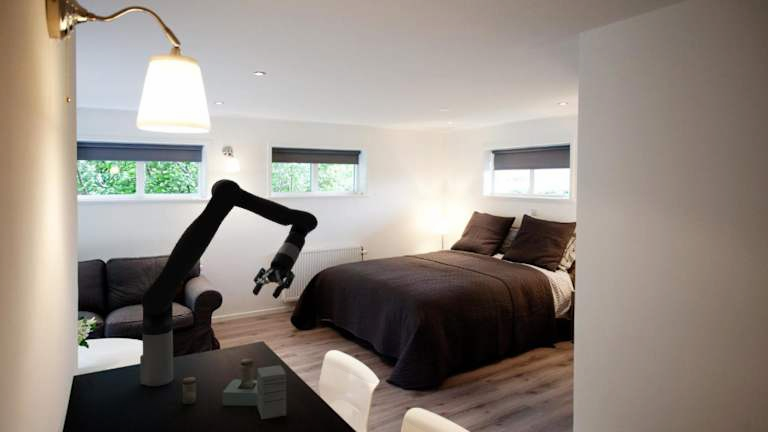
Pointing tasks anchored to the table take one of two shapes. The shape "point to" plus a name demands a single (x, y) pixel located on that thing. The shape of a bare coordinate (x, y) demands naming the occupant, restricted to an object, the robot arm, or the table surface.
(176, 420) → the table surface
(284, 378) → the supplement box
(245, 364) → the tall pin
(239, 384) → the socket block
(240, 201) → the robot arm
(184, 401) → the short pin
